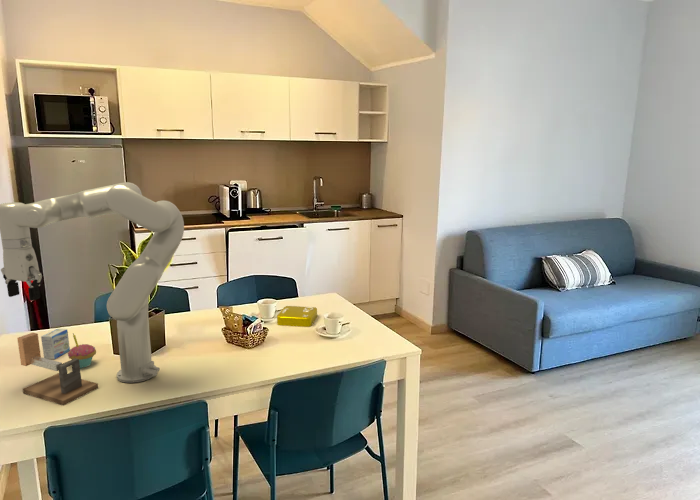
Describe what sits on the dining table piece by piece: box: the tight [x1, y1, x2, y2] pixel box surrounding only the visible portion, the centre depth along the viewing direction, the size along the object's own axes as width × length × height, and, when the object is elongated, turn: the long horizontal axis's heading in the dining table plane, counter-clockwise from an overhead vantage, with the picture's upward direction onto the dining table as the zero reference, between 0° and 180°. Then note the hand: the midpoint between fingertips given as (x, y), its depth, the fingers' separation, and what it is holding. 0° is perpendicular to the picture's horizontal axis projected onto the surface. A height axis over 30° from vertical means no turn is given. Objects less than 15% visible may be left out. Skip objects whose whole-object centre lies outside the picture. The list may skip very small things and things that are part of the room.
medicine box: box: [40, 328, 71, 360], centre depth 185 cm, size 8×4×9 cm, turn 168°
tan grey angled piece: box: [17, 332, 63, 372], centre depth 160 cm, size 14×5×9 cm, turn 66°
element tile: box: [276, 305, 318, 328], centre depth 222 cm, size 15×15×5 cm
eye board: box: [22, 358, 99, 406], centre depth 158 cm, size 18×12×10 cm, turn 66°
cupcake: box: [67, 333, 97, 369], centre depth 176 cm, size 9×8×12 cm
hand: (24, 297), depth 159 cm, fingers open, 9 cm apart
